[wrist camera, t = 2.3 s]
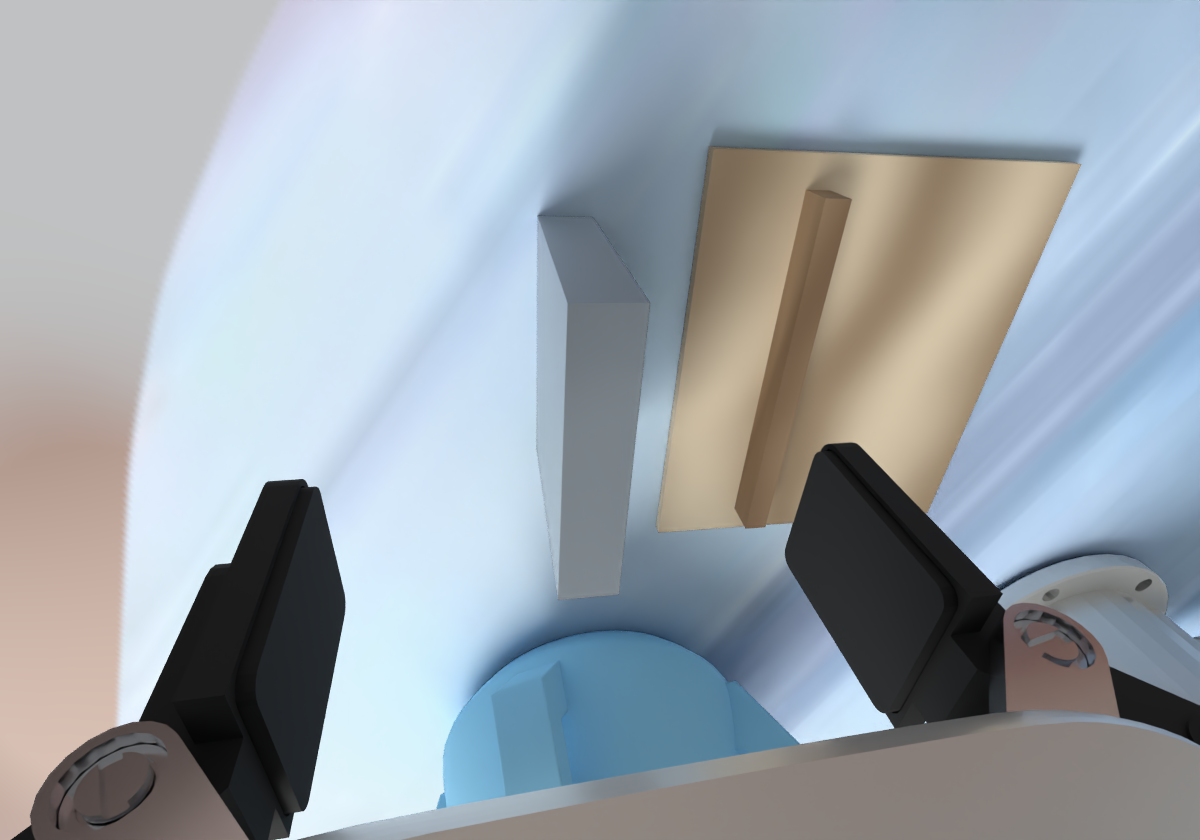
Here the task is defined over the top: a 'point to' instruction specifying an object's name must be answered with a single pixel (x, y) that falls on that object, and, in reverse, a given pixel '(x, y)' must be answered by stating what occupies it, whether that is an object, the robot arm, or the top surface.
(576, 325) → the tile
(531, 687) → the teapot
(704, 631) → the top surface
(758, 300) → the wooden ridged plate
